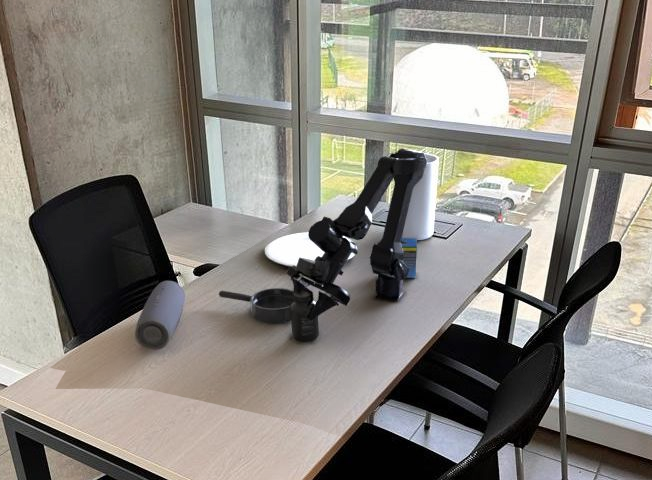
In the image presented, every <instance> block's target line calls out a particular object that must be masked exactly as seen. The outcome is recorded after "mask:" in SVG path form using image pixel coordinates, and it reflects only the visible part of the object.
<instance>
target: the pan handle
mask: <svg viewBox="0 0 652 480" xmlns="http://www.w3.org/2000/svg"><path fill="white" fill-rule="evenodd" d="M253 295H254V294H246V293H239V292H233V291H228V290H227V291H226V290H220V291H219V292H218V296H219V297H220V298H224V299H230V300H235V301H243V302H249V303H251V302H250V300H251V297H252V296H253Z"/></svg>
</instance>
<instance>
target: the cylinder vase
mask: <svg viewBox="0 0 652 480" xmlns="http://www.w3.org/2000/svg"><path fill="white" fill-rule="evenodd" d="M423 153H424V152H423ZM424 155H425V158H426V159H427V166H426V168H425V171H424V174H423V177H422V179H421V180H420V181H419V182H418V183H417V184H416V185H415V186H414V188H413V192H412V196H411V200H410V204H409V209H408V213H407V217H406V221H405V226H404V230H403V234H402V238H417V241H422V240H427V239H430V238H431V237H432V236H433V234H434V229H435V215H436V214H435V213H436V200H437V185H438V174H439V173H438V172H439V159H440V158H439V156H437V155H434V154H431V153H424Z"/></svg>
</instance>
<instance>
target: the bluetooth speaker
mask: <svg viewBox="0 0 652 480" xmlns="http://www.w3.org/2000/svg"><path fill="white" fill-rule="evenodd" d="M185 302H186V293H185V290H184V289H183V287H182V286H181V285H180V284H179V283H178V282H176V281H173V280H163V281H160V282H159V283H158V284H157V285H156V286H155V288H154V289H153V290H152V292H151V293H150V295H149V296H148V298H147V300H146V302H145V303H144V306H143V308H142V310H141V313H140V315H139V318H138V320H137V322H136V326H135V330H134V337H135V339H136V342H137V343H138V344H139V345H140V346H141V347H142V348H144V349H146V350H151V351H157V350H161V349H162V350H163V348H165V347H166V346H167V344H168V343H169V342H170V340H171V339H172V337H173V335H174V333H175V330H176V329H177V327H178V325H179V323H180V320H181V317H182V313H183V310H184V305H185Z"/></svg>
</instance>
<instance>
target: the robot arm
mask: <svg viewBox="0 0 652 480" xmlns="http://www.w3.org/2000/svg"><path fill="white" fill-rule="evenodd" d="M426 166H427V159H426V158H425V155H424V152H423V151H418V150H413V149H409V148H400V149H398V150H397V151H395V152H391V153H390V152H389V153H388V154H387V155H385V156H384V155H383V156H381V157H380V158H379V159H378V161H377V166H376V168H375V169H374V171H373V173H372V174H371V176H370V178H369V179H368V180H367V182H366V184H365V186H364V187H363V189H362V191H360V193H359V194H358V197H357V198H356V200H355V201H354V202H353V203H351V204H349V205H348V206H346V207H345V208H344V209H343V210H342V212H340V214H339V215H338V217H336V218H334V219H332V218H331V217H328V216H323V217H322V219H321V220H318V221H316V222H315V223H313V225H311V226H310V227H309V229H308V232H307V233H308V236H309V239H310V240H311V241H312V242H313V243H314V244H315V245H316V246H318V247H319V248H320V249H321V250H322V251H323V252H325V253H324V254H323V256H322V257H320V256H318V257H316V259H315V260H310V259H305V258H300V257H299V260H298V263H297V266H294V265H293V266H291V267H289V266H288V269H287V271H286V272H285V274H286V275H287V276H289V277H290V281H292V286H293V290H292V291H293V295H292V300H291V304H292V303H293V302H294V292H296V291H298V290H302V289H306V290H310V288H308V287H309V286H312V287H314V288H315V289H317V290H318V293H317V300H316V301H315V302H316V304H315V305H314V307H313V309H312V311H311V312H310V314H309V317H308V319H309V320H310V321H311V320H313V319H314V318H316V317H317V316H318V317H320V316H321V315H322V314H323V313H326V311H328V310H330V309H333V308H334V307H335V306H337V307H339V306H340V305H343V306H345V307H347V306H348V305H349V303H350V302H351V294H350V293H348V291H347V290H345V289H344V288H343V287H341V286H339V285H337V284H335V281H336V279H337V278H338V276H343V275H344V273H345V272H344V271H343V270H342V269H343V268H344V267H345V264H346V263H347V261H348V260H347V259H348V258H349V256H350V255H351V253H354V254H355V255H358V254H359V253H358V251H359V250H358V247H357V245H358V243H357V242H354V241H353V240H355V241H360V240H363V239H365V237H366V236H367V234H368V232H369V230H370V228H371V226H372V223H373V213H374V211H375V209H376V207H377V206H378V204H379V202H380V201H381V199H382V198H383V196H384V194H385V193H386V192H387V190H388V188H389V187H390V185H391V183H392V182H394V186H393V190H392V194H391V198H390V202H389V208H388V211H387V215H386V219H385V225H384V229H383V233H382V238H381V239H380V240H379V241H378V242H377V243H373V245H372V247H371V252H370V256H369V265H370V267H371V271H372V274H374V275H377V278H376V279H375V289H374V290H375V291H374V292H375V294H376V295H375V296H374V299H377V300H384V301H391V302H399V300H400V299H401V298H402V296H403V294H404V293H405V291H404V290H403V281H405V280H406V278H405V277H407V276H408V273H409V268H408V267H407V266H406V265H405V264H404V263H403V257H404V252H403V249H402V245H401V244H402V241H401V238H402V234H403V230H404V226H405V221H406V217H407V213H408V209H409V204H410V200H411V196H412V192H413V188H414V186H415V185H416V184H417V183H418V182H419V181H420V180H421V179H422V177H423V174H424V171H425V168H426ZM344 237H345V238H344ZM346 238H347V239H346ZM348 239H351V241H349V240H348ZM352 241H353V242H352ZM291 304H290V307H291Z"/></svg>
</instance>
